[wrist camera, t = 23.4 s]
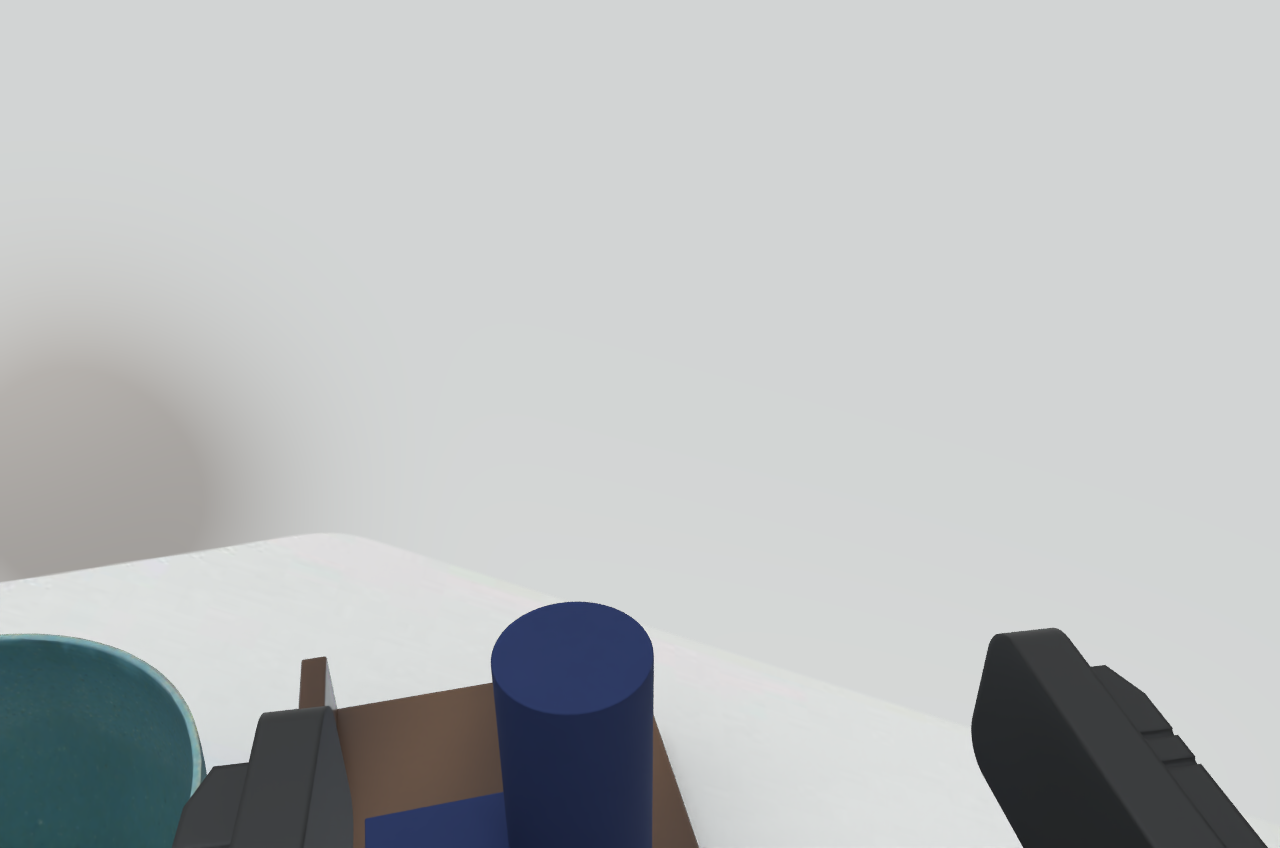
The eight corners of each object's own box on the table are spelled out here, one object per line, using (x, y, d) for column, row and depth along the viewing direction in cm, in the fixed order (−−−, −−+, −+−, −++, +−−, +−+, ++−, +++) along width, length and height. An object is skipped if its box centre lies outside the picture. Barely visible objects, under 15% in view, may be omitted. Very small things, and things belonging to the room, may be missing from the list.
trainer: (634, 821, 38) (632, 591, 33) (667, 938, 34) (672, 697, 29) (376, 874, 36) (329, 638, 31) (379, 1004, 32) (325, 760, 27)
